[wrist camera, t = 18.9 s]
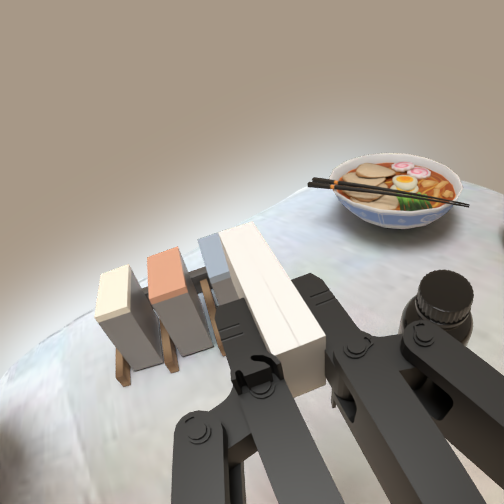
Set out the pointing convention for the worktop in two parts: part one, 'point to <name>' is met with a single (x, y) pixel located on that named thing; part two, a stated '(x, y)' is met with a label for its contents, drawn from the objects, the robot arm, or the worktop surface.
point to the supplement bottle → (442, 304)
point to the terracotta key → (177, 302)
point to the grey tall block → (128, 318)
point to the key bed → (169, 352)
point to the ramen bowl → (394, 189)
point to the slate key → (217, 268)
